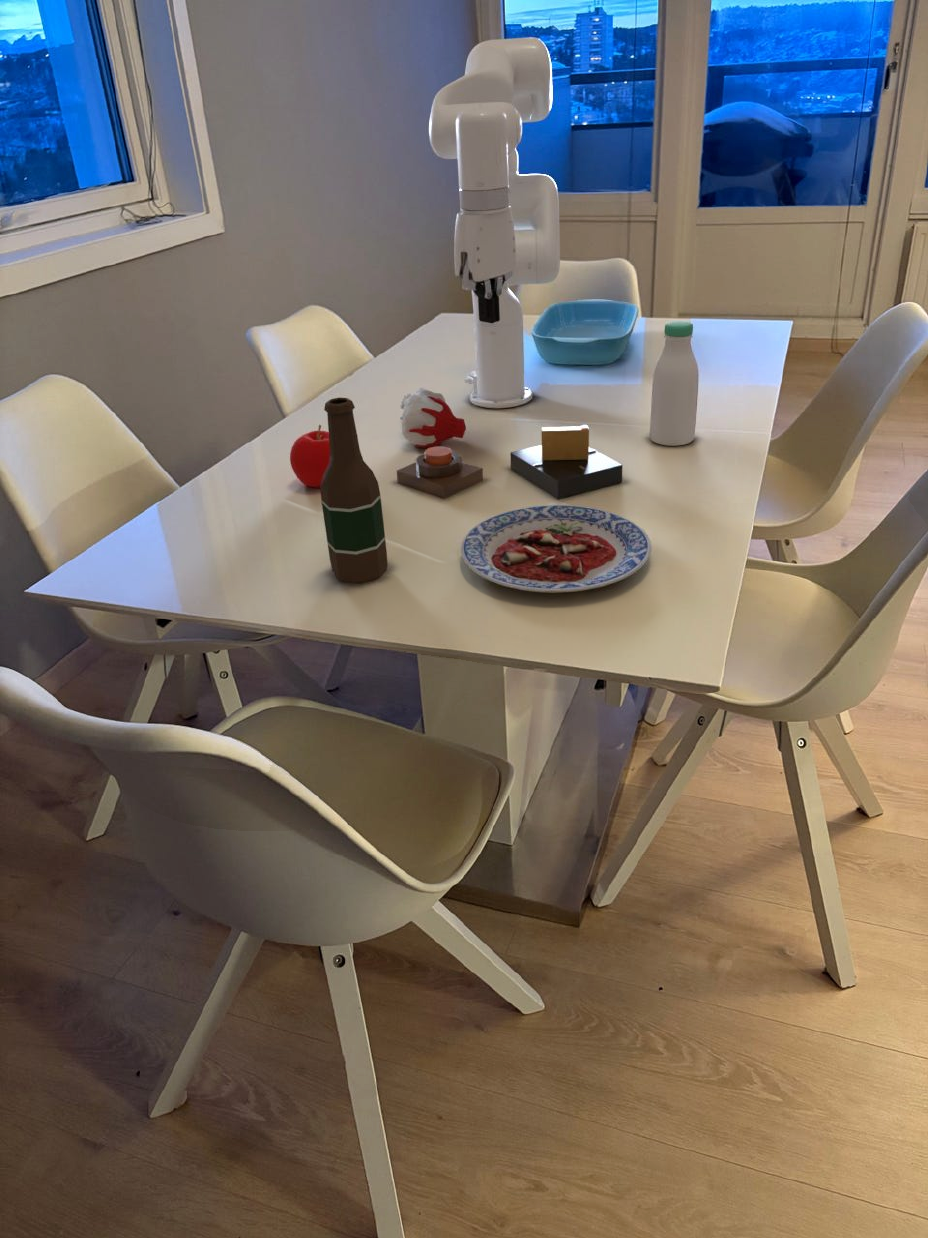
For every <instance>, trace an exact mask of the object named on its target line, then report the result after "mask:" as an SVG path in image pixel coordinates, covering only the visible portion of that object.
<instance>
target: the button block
mask: <svg viewBox="0 0 928 1238" xmlns="http://www.w3.org/2000/svg"><path fill="white" fill-rule="evenodd" d="M483 469H484V468H482V467H479V466H477V465H473V464H469V463H466V462H463V457H462V456H461V455H460V454H459V453H458V452H455V451H452V461H451V462H449V463H447V464H442V465H430V464H427V463H425V453H423V454H420V455H418V457H416V459H415V462H413V463H411V464H409V465H406V466H404V467H402V468H399V469H397V470H396V479H397V480H396V481H397V483H398V484H401V485H403V486H406V487H409V488H413V489H416V490H418V491H422V492H424V493H427V494H430V495H433V496H437V497H439V498H442V499H447V498H449V497H451V496H454V495H456V494H458V493H460V492H462V491H464V490H466V489H469V488H470V487H473V486H475V485H477V484H479V483H481V482H483V481H484V471H483Z"/></svg>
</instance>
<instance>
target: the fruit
mask: <svg viewBox="0 0 928 1238" xmlns="http://www.w3.org/2000/svg"><path fill="white" fill-rule="evenodd" d="M321 428H322V425H321V424H319V425H318V430H311V431H309V432H306V433H304V434H302V435H301V436H299V437H298V438H297V439H296V440H295V441H294V442H293V444H292V445H291V448H290V453H289V462H290V466H291V467H290V468H291V469H292V471H293V473H294V474H295V477H296V478H297V479H298V480H299V482H301V483H302V484H303V485H305V486H307V487H310V488H314V489H315V488H316V489H321V488H320V486H321V482H322V478H323V474H324V473H325V471H326V469H327V467H328V465H329V462H330V444H329V431H326V430H321Z"/></svg>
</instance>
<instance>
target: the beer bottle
mask: <svg viewBox="0 0 928 1238" xmlns="http://www.w3.org/2000/svg"><path fill="white" fill-rule="evenodd" d="M355 408H356V407H355V405H354V402H353V400H352V399H350V398H348V397H334V398H331V399H329V400H327V401H326V402H325V403H324V409H323V411H325V412H326V413H327V428H328V432H329V444H330V462H329V465H328V467H327V469H326V471H325V473H324V474H323V478H322V482H321V486H320V488H319V489H320V500H321V501H320V502H321V508H322V514H323V515H322V516H323V522H324V529H325V533H326V534H325V535H326V542H327V549H328V556H329V562H330V567H331V571H332V572H333V574H334V575H335V576H336V577H337V578H338V579H339V580H340V582H345V583H353V584H354V583H355V584H362V583H366V582H369V581H373V580H376V579H379V578H380V577H381V576H382V575H383V574H384V572H385V571H386V570H387V568H388V551H387V543H386V542H387V541H386V533H385V525H384V524H385V523H384V516H383V515H384V514H383V505H382V498H381V491H380V486H379V485H380V484H379V481H378V479H377V477H376V475H375V473H374V471H373V470H372V468H371V467H369V465H368V464H367V463H366V462H365V460H364V458H363V456H362V452H361V449H360V448H361V447H360V443H359V438H358V437H359V436H358V432H357V427H356V422H355V415H354V410H355Z"/></svg>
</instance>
